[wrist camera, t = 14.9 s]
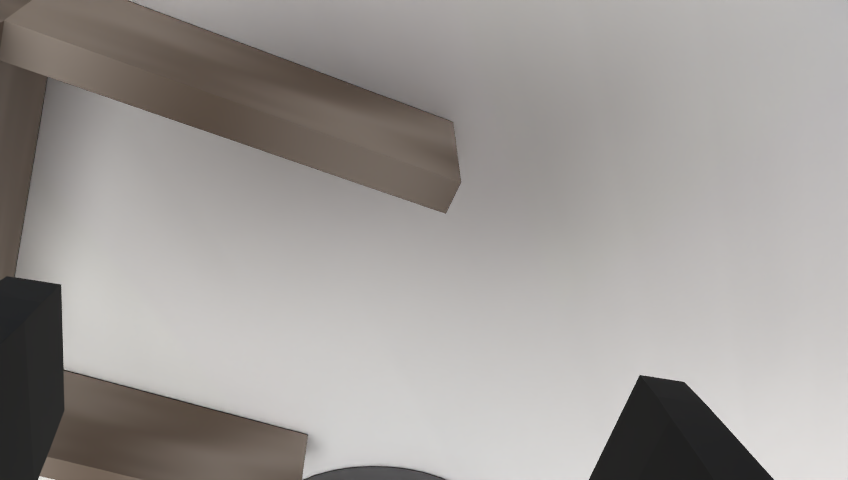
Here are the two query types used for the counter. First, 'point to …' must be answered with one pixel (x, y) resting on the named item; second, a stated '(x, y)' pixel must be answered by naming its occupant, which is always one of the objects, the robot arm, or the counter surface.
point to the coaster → (374, 474)
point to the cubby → (222, 115)
